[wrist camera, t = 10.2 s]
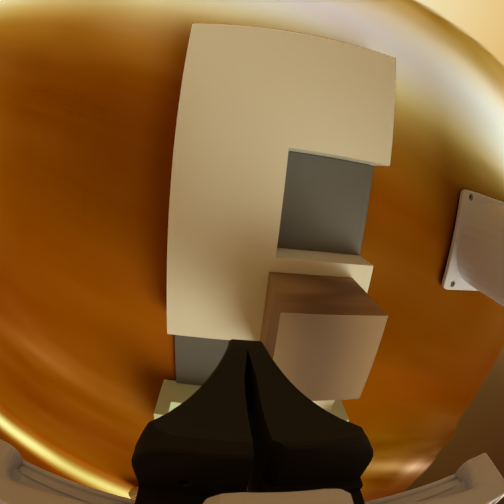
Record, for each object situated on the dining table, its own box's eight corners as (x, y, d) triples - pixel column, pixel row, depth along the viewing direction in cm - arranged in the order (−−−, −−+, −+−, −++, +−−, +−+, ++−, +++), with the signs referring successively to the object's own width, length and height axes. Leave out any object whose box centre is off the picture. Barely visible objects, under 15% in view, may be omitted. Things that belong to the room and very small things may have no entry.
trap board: (391, 72, 16) (427, 53, 12) (317, 436, 24) (327, 473, 20) (182, 39, 15) (167, 6, 11) (168, 430, 23) (160, 469, 19)
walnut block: (351, 277, 17) (388, 315, 12) (334, 348, 19) (359, 398, 14) (269, 271, 17) (280, 312, 12) (259, 346, 18) (265, 400, 13)
